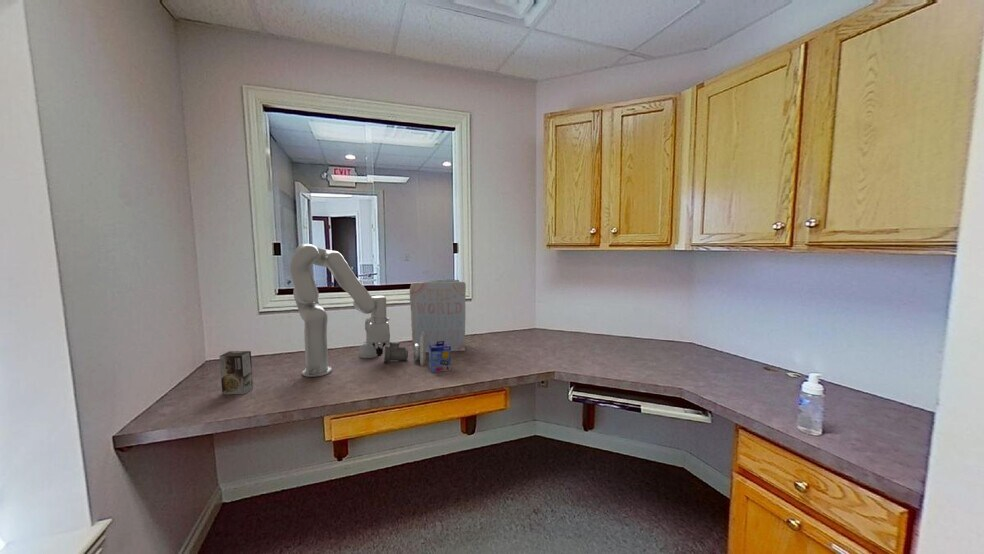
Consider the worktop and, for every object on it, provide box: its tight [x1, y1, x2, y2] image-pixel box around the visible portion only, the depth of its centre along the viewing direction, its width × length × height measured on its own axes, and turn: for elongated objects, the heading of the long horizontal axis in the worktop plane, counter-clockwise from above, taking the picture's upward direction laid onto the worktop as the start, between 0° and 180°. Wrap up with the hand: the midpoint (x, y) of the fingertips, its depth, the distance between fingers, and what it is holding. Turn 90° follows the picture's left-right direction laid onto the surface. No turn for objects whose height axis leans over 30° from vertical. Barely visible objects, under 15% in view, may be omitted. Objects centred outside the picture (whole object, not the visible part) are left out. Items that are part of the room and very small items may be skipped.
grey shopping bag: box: [409, 279, 467, 354], centre depth 222 cm, size 17×31×40 cm, turn 101°
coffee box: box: [218, 350, 254, 395], centre depth 157 cm, size 9×6×16 cm
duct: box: [413, 331, 427, 366], centre depth 199 cm, size 14×5×14 cm, turn 5°
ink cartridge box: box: [428, 341, 452, 373], centre depth 185 cm, size 10×6×14 cm, turn 111°
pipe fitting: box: [383, 341, 409, 363], centre depth 198 cm, size 12×8×10 cm, turn 104°
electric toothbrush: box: [358, 316, 378, 359], centre depth 208 cm, size 11×20×10 cm
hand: (379, 355), depth 198 cm, fingers closed
